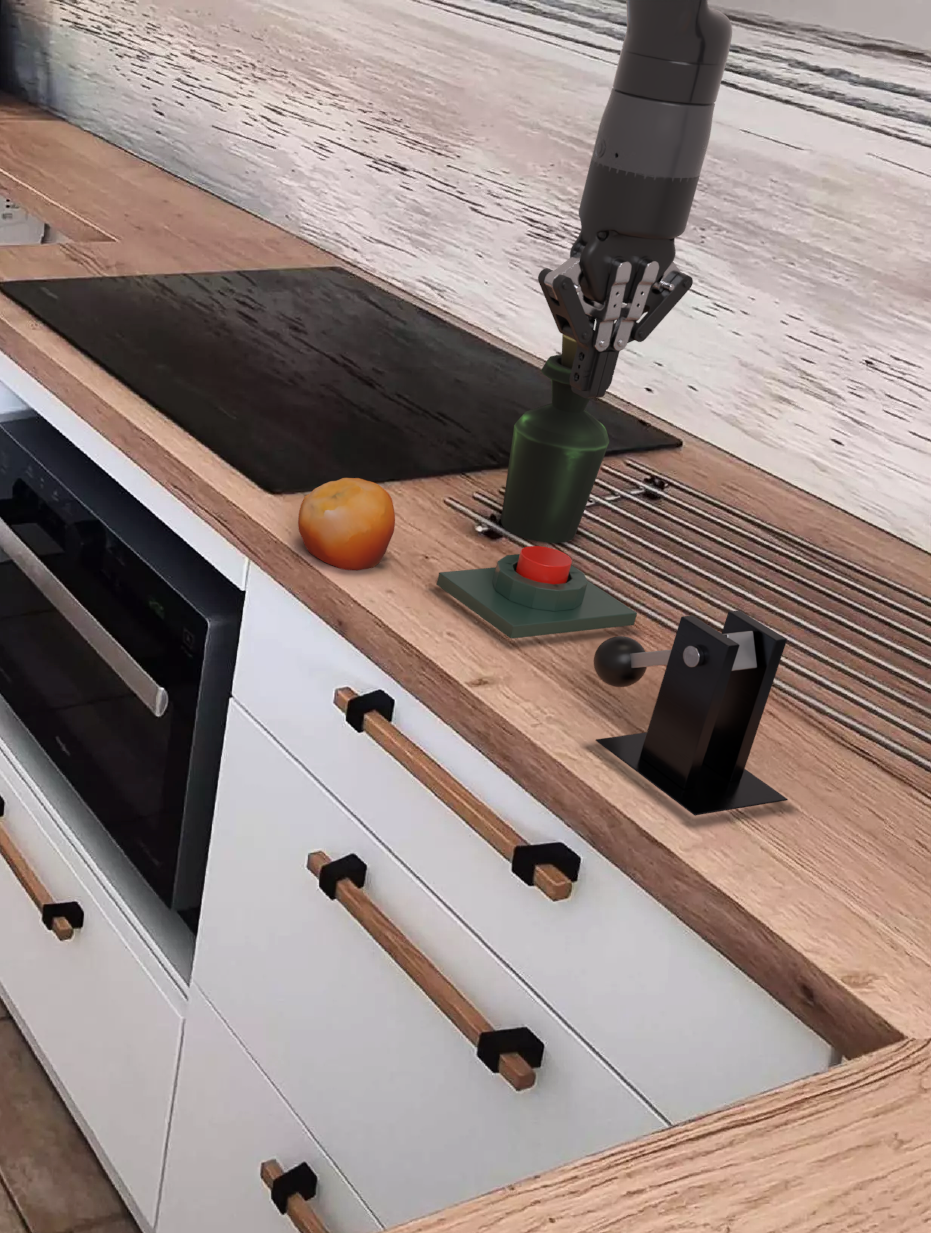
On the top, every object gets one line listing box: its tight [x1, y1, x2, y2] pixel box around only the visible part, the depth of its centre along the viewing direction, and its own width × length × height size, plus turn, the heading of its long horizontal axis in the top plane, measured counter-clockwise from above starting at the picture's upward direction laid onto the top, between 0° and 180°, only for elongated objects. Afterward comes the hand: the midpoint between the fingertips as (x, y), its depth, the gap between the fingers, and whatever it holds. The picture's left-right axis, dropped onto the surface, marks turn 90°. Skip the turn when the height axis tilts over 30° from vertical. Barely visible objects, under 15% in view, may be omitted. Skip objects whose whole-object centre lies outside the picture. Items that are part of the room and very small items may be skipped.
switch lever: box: [593, 631, 757, 688], centre depth 121 cm, size 13×4×4 cm, turn 22°
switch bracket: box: [595, 609, 789, 816], centre depth 118 cm, size 10×8×12 cm
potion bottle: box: [500, 333, 610, 544], centre depth 155 cm, size 8×8×18 cm
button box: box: [436, 553, 638, 640], centre depth 142 cm, size 12×10×4 cm
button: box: [516, 545, 573, 584], centre depth 141 cm, size 4×4×2 cm
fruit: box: [297, 477, 396, 571], centre depth 148 cm, size 8×8×8 cm
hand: (587, 394), depth 134 cm, fingers closed
